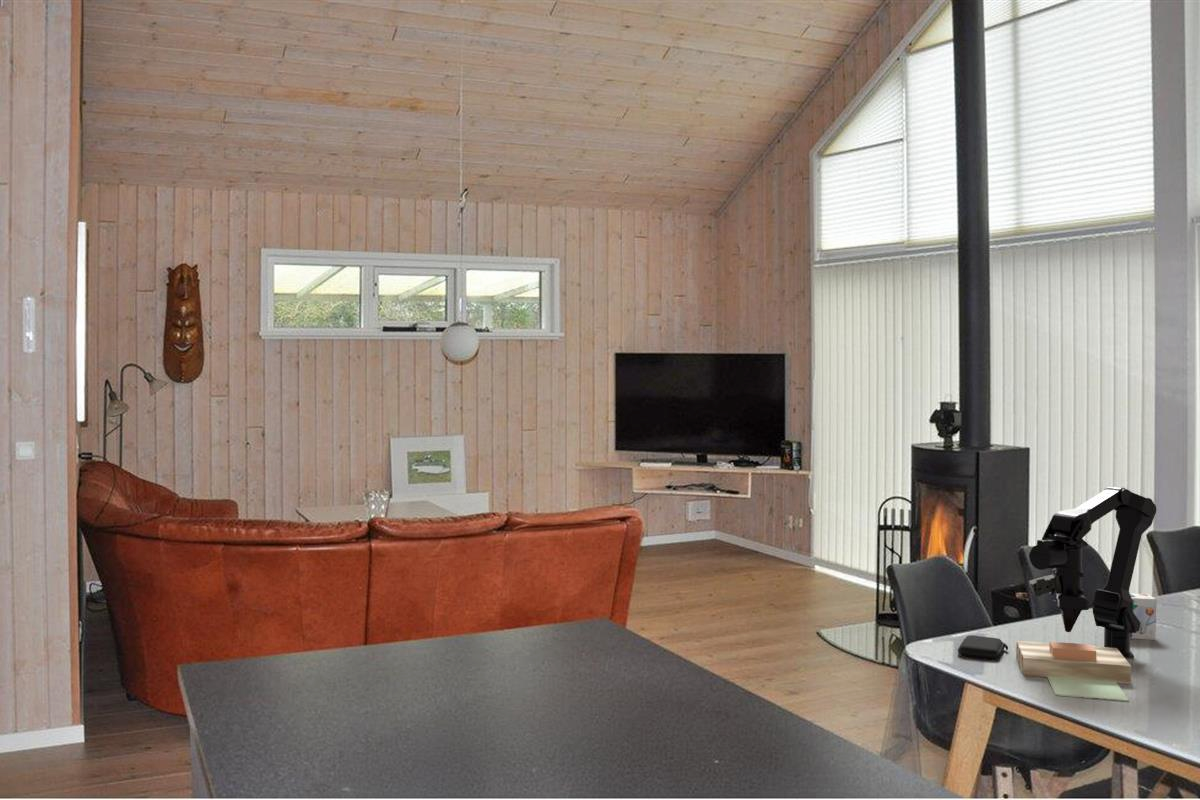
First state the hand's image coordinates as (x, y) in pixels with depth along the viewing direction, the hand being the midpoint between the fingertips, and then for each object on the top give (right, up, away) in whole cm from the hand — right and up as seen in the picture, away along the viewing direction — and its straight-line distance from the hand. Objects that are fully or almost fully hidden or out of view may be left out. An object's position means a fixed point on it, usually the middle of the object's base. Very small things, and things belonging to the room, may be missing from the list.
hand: (1067, 631), depth 242 cm
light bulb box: (+29, -7, +27) cm, 40 cm away
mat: (-5, -8, -20) cm, 22 cm away
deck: (-2, -8, -6) cm, 10 cm away
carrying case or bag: (-16, -8, +9) cm, 20 cm away
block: (-2, -4, -8) cm, 9 cm away
